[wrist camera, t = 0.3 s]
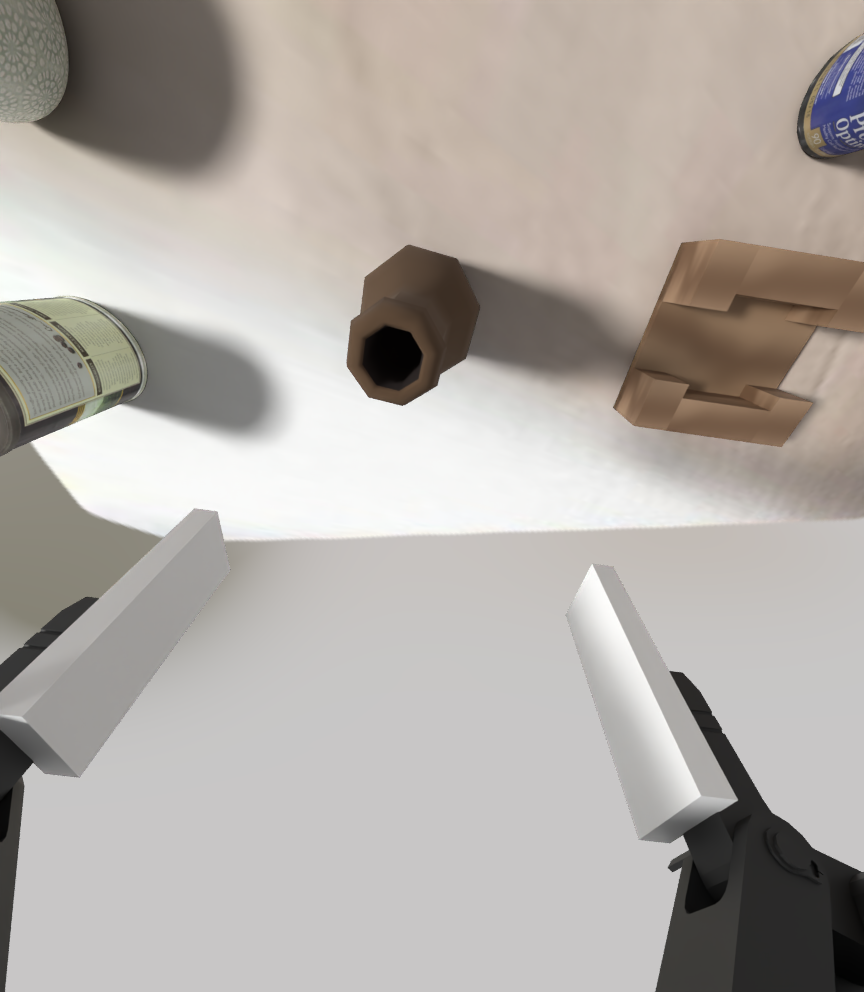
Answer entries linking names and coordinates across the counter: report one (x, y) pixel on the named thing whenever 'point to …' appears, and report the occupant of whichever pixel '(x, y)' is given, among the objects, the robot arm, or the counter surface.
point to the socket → (736, 339)
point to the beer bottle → (411, 325)
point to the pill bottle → (835, 105)
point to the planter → (31, 59)
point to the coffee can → (62, 366)
